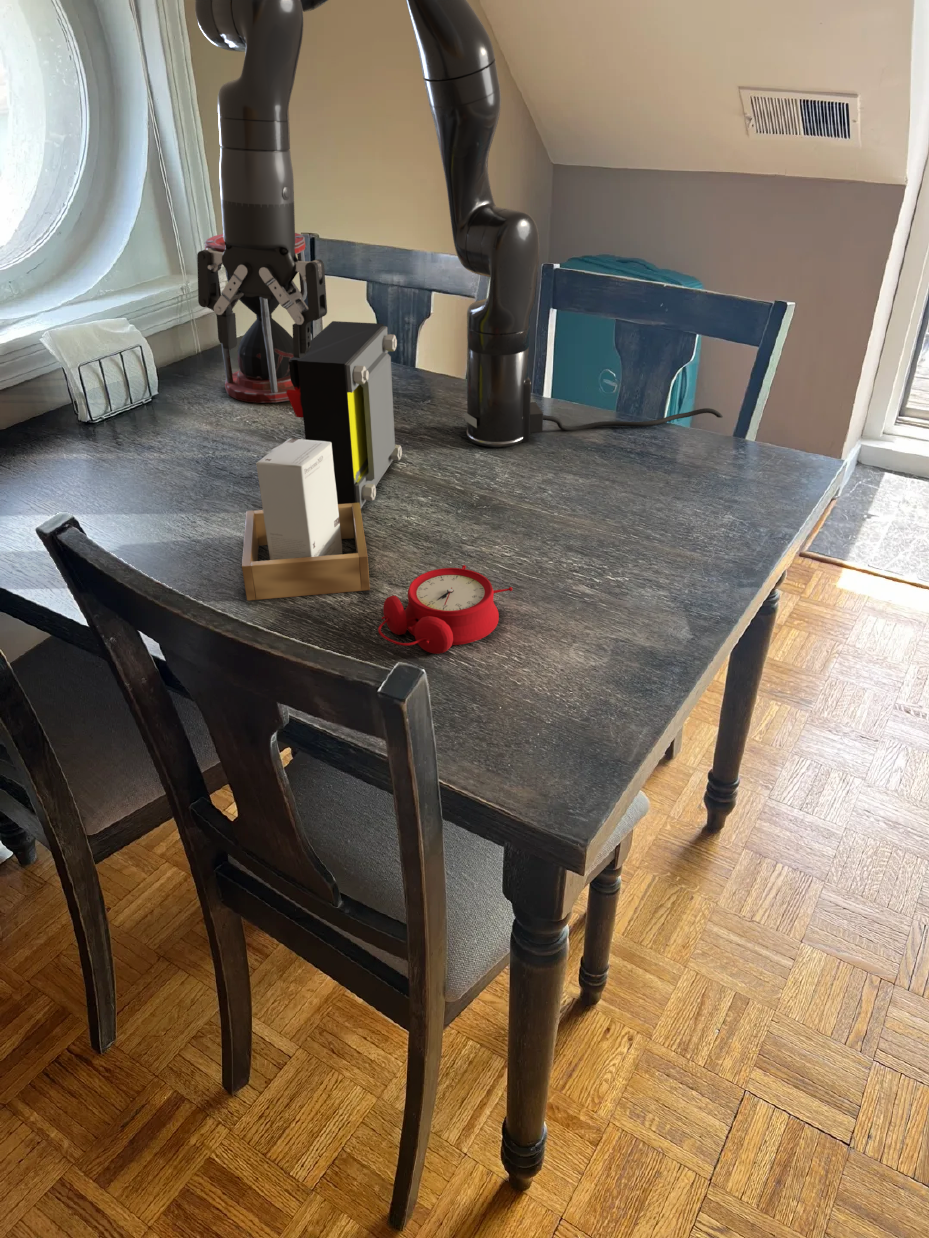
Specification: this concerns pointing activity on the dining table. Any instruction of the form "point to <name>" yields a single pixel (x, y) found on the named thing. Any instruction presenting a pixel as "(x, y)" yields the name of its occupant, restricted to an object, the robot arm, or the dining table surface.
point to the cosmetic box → (300, 500)
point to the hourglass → (261, 345)
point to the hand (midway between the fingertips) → (264, 352)
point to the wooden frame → (305, 563)
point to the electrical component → (349, 403)
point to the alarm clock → (444, 609)
